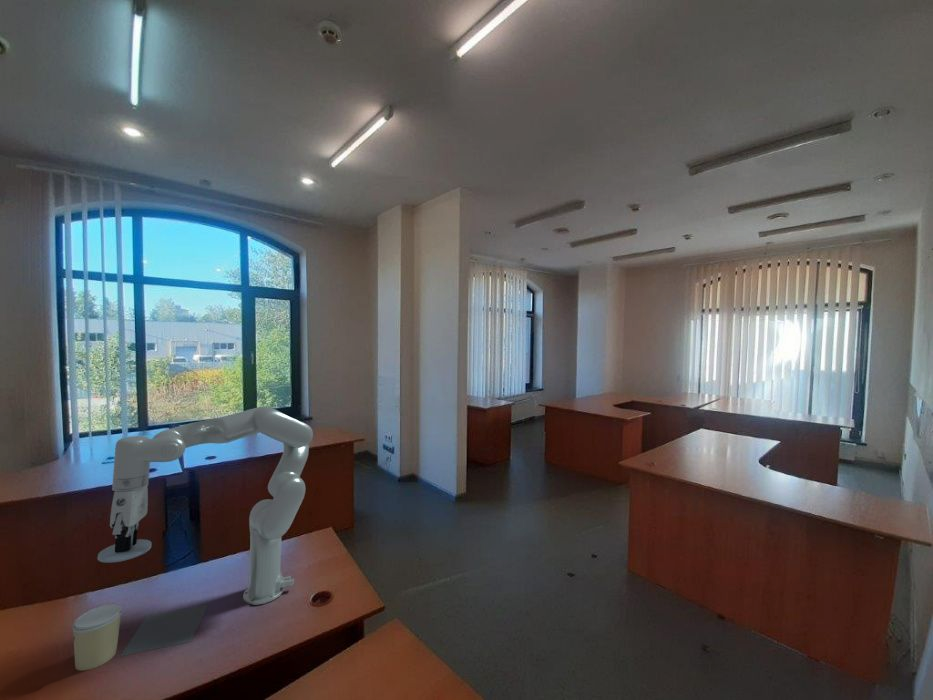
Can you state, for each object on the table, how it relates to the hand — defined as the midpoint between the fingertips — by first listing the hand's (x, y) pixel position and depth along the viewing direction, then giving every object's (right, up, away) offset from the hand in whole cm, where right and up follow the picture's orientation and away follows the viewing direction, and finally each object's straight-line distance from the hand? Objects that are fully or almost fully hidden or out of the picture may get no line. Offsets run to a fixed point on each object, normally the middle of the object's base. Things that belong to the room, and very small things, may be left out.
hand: (125, 547), depth 103 cm
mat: (+6, -28, +7) cm, 30 cm away
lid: (0, -1, 0) cm, 1 cm away
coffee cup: (-4, -28, -4) cm, 29 cm away
